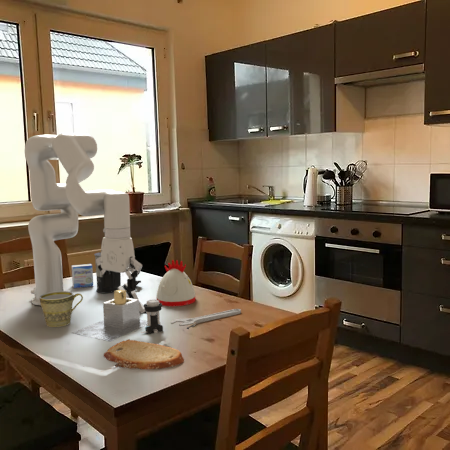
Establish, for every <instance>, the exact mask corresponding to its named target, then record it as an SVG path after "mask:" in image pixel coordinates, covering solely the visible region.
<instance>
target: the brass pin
mask: <svg viewBox="0 0 450 450" xmlns="http://www.w3.org/2000/svg"><path fill="white" fill-rule="evenodd" d="M113 299H114V303H116V304H124V303H126V291H125V290H116V291H114V292H113Z"/></svg>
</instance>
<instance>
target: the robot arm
mask: <svg viewBox="0 0 450 450" xmlns="http://www.w3.org/2000/svg"><path fill="white" fill-rule="evenodd" d="M97 153H98V144H97V141H96V140H95V138H94V137H93V136H92V135H90V134H89V133H84V132H83V133H78V132H76V133H75V132H72V133H71V132H64V133H60V134H39V135H38V134H37V135H33V136H30V137H29V138H27V140H26V141H25V145H24V157H25V161H26V163H27V166H28V171H29V181H30V199H31V204H32V207H33V209H35V210H36V211H39V212H50V211H60V213H59V212H58V213H47V214H40V215H36V216H34V217H32V218H31V219H30V220H29V222H28V226H27V227H28V228H27V229H28V234H29V238H30V242H31V248H32V256H33V257H32V259H33V269H34V270H33V271H34V283H35V284H34V286H35V287H34V288H33V289H31V290H30V294H31V295H32V294H33V295H34V297H33V298H32V299H31V303H32V304H33V305H35V306H41V303H40V298H39V297H40V295H42V294H45V293H48V292H54V291H65V290H64V278H63V261H62V252H61V250H60V248H59V247H58V245H57V244H56V243H55V241H59V240H67V239H71V238H74V237H75V236H76V235H77V234H78V231H79V215H81V216H83V217H90V216H91V217H92V216H98V215H99V216H101V215H103V220H104V221H103V224H104V228H103V229H102V231H103V233H104V237H102V240H101V247H100V252H101V257H99V258H98V259H96V262H97V265H98V268H99V270H100V271H101V274H102V275H103V288H106V287H109V286H111V285H112V280H111V273H109V272H110V271H113V272H119V273H121V274H124V273H125V275H126V276H127V279H126V283H127V291H128V292H132V291H136V290H137V286H136V281H137V278H138V276H139V274H141V270H142V268H143V264H142V263H141V262H139V261H138V260H137V259H136V256H135V248H134V243H133V242H134V241H133V238H132V237H131V214H130V213H131V211H130V210H131V208H130V207H131V206H130V196H129V193H127V192H124V191H116V190H114V189H95V190H93V189H92V190H84V189H83V188H82V186H81V185H80V183H82V182H83V181H85V180H87V179H88V178H89V177H90V176H91V175H92V174H93V172H94V170H95V165H94V163H93V161H92V158H94V157H95V156H96V155H97ZM50 160H51V161H52V160H53V161H58V160H59V162H60V164H61V165H62V166H63V168H64V170H65V171H66V173H67V177H66V179H65V180H66V181H65V182H64V183H63V182H61V183H60V182H59V183H57V179H56V178H57V177H56V171H55V168H54V166H53V165H52V163H51V162H50ZM96 262H95V263H96Z"/></svg>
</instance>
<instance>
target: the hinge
mask: <svg viewBox="0 0 450 450" xmlns="http://www.w3.org/2000/svg"><path fill="white" fill-rule="evenodd" d="M118 290H125V291H126V298H132V299H138V300H139V312H140V314H143V313H145V314H146V315H147V312H146V311H145V308H144V304H142V303H141V301H140V299H139V298H138V297H139V296H138V295H137V293H136V290H134V291H132V292H128V291H127V282H126V283H123V285H121V286H119V287H118Z"/></svg>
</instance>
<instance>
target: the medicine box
mask: <svg viewBox="0 0 450 450" xmlns="http://www.w3.org/2000/svg"><path fill="white" fill-rule="evenodd" d="M71 279H72V281H71V282H72V287H73V288H74V289H77V288H80V287H81V288H87V287H94V271H93V264H92V263H87V264H73V265H71Z"/></svg>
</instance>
